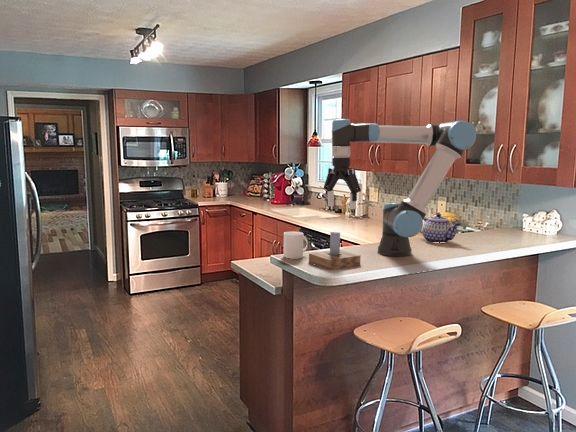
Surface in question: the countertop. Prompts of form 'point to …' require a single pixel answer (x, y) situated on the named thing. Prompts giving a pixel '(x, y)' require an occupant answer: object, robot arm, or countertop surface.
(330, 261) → the board
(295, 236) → the mug
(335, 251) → the dowel
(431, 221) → the teapot
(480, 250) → the countertop surface
